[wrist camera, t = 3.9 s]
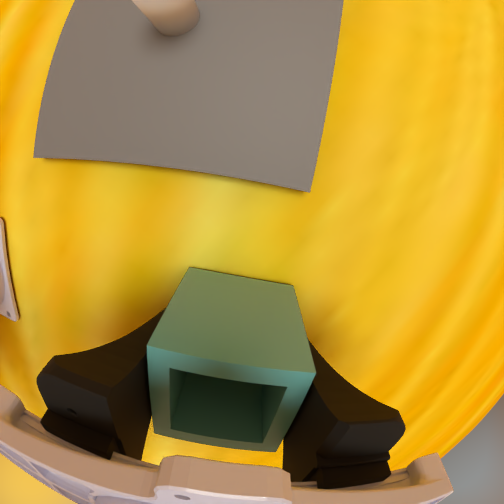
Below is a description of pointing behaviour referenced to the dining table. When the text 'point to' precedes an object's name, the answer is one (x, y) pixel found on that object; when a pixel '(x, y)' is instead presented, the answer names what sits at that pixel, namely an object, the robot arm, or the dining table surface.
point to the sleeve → (229, 362)
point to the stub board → (193, 86)
